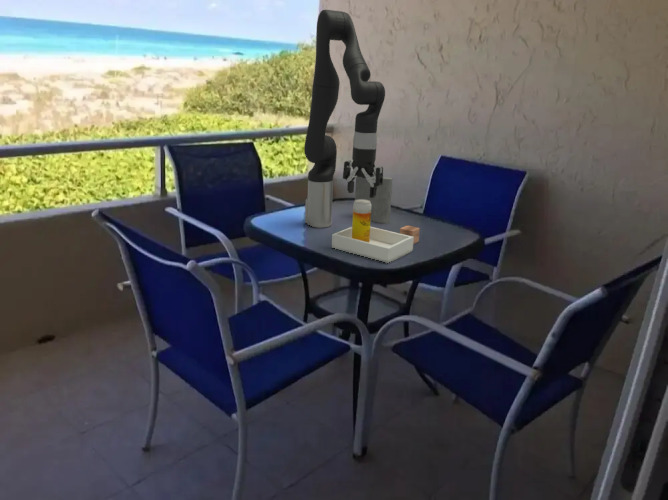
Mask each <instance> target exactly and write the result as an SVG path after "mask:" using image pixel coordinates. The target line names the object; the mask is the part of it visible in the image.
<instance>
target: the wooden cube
mask: <svg viewBox="0 0 668 500" xmlns="http://www.w3.org/2000/svg"><path fill="white" fill-rule="evenodd" d="M399 233H400V234H404V235H408V236H412V237H414V241H413V245H415V244H417V243H419V241H420V227H416V226H412V225H405V226H402V227H400V228H399Z"/></svg>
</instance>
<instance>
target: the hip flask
mask: <svg viewBox="0 0 668 500" xmlns="http://www.w3.org/2000/svg"><path fill="white" fill-rule="evenodd" d="M373 173H374V175H375V177H376V173H375V171H374V172H373ZM370 177H371V176H370ZM370 187H371V185H370V183H369V181H367V179H366V178H362V177H356V178H355V188H354V193H355V195H354V201H355V200H359V199H363V200H369V201H370V203H371V205H372V206H371V223H378V224H383V225H385V224H386V225H387V224H388V225H389V224H390V223H391V222H390V220H391V205H392V204H391V203H392V193H393V192H392V191H393V190H392V189H393V188H392V187H393V178H392V177H389V176H388V177H387V176H383V184H382V185H380V186H377V192H376V196H375V197H374V198H370Z"/></svg>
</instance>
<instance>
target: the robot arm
mask: <svg viewBox="0 0 668 500" xmlns="http://www.w3.org/2000/svg"><path fill="white" fill-rule="evenodd" d="M315 33H316V35H315V38H316V40H315V63H314V73H313V80H312V89H311V90H312V91H311V102H310V109H309V110H310V111H309V120H308V126H307V131H306V136H305V140H304V147H303V148H304V149H303V151H304V152H303V153H304V156H305V158H306V160H307V161H308V162H310V163H312V164H313V167H312V168H311V169H310V170H309V171H308V174H307V198H306V199H305V206H304V208H305V209H304V210H305V211H304V214H305V218H304V223H307V224H306V225H307V226H309V225H310V226H309V227H311V226H312V228H318V229H320V228H328V227H329V228H330V227H331V226H332V224H333V221H332V220H333V191H334V190H333V184H334V175H335V173H336V166H337V152H338V151H337V150H338V149H337V148H338V147H337V144H336V143H337V142H336V141H335V139H334V138H333V137H332V136H329V135H326V132H327V126H328V123H329V121H330V118H331V116H332V114H333V112H334V111H335V108H336V106H337V104H338V99H339V93H340V77H339V75H338V72H337V69H336V68H335V67H336V66H335V65H334V62H333V60H332V57H331V50H330V45H331V41H339V42H340V41H341V42H342V43H343V44H344V46H345V49H344V52H343V56H342V66H343V69H344V71H345V73H346V76H347V78H348V81H349V86H350V97H351V100H352V101H353V102H354V104H356V105H360V106H365V105H366V106H368V107H367V109H366V110H365V111H361V112H358V113H357V114H355V115H356V116H355V120H354V134H353V140H352V156H351V158H352V160H346V161H344V162H343V173H342V179H344V180H346V181H347V191H348V192H347V193H349V194H352V193H355V180H356V177H362V178H366V179H367V181H369V183H370V185H371V187H370V198H374V197H375V196H376V192H377V186H380V185H382V184H383V177H384V166H376V165H375V162H376V158H377V144H378V143H377V142H378V135H377V132H378V121H379V120H378V119H379V117H380V113H381V110H382V107H383V105H384V101H385V99H386V89H385V86H384V84H383V83H382V82H380V81H374V80H373V81H371V80H370V78H371V74H372V73H371V70H370V68H369V66H368V64H367V62H366V60H365V58H364V55H363V54H362V53H363V52H362V51H361V48H360V44H359V41H358V36H357V32H356V28H355V25H354V22H353V19H352V17H351V16H350V14H349V13H348V12H345V11H340V10H332V9H322V10H321V11H319V15H318V17H317V22H316V32H315ZM369 80H370V81H369ZM352 169H353V170H352ZM351 171H352V172H351ZM374 171H375V173H376V177H375V175H374V173H373V172H374ZM370 176H371V177H370Z"/></svg>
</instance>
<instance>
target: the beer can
mask: <svg viewBox="0 0 668 500" xmlns="http://www.w3.org/2000/svg"><path fill="white" fill-rule="evenodd" d="M371 206H372V205H371V203H370V201H369V200H363V199H359V200H355V199H354V202H353V204H352V222H351V223H352V224H351V227H352V238H353V239H357V240H361V241H365V242H369V241H370V227H371V223H372V221H371Z"/></svg>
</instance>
